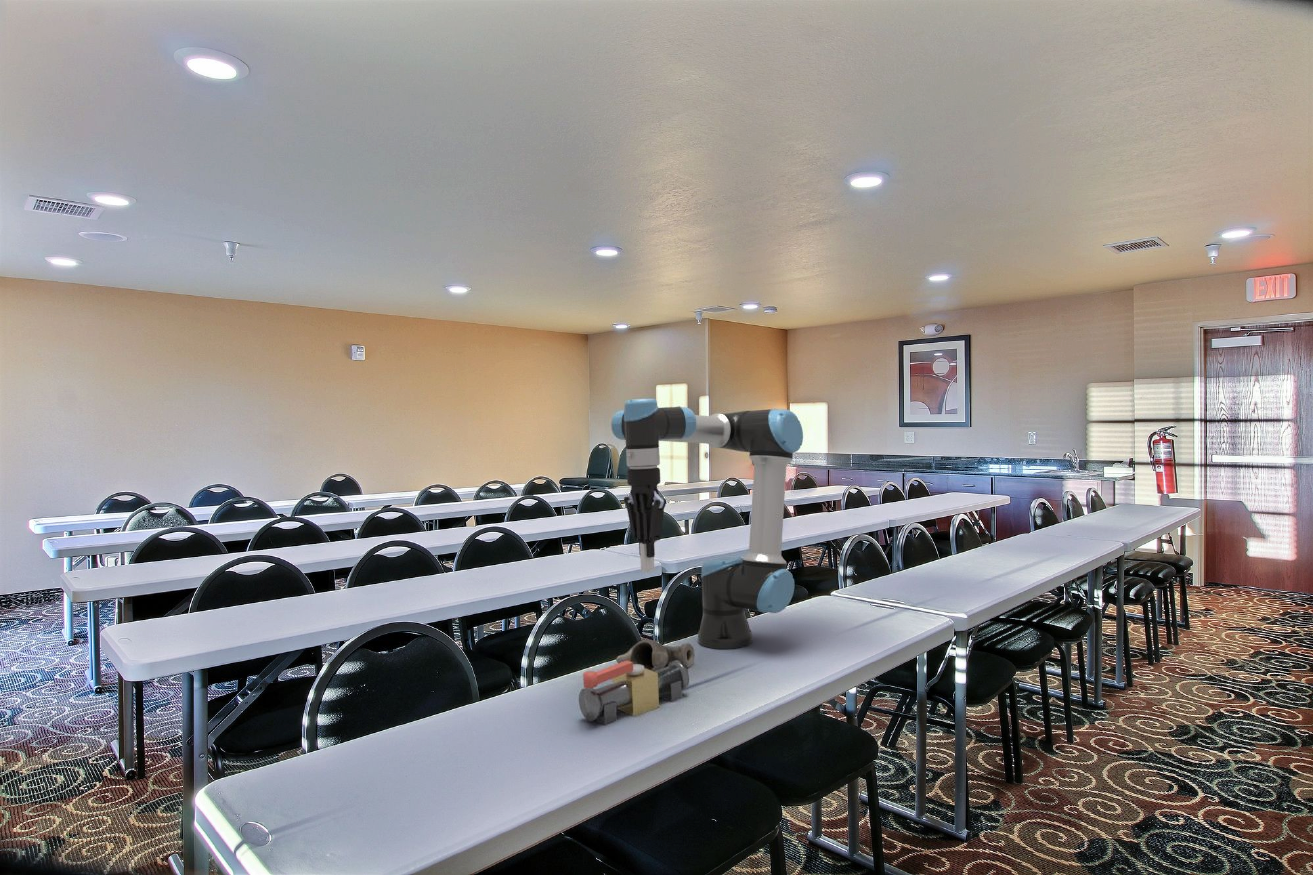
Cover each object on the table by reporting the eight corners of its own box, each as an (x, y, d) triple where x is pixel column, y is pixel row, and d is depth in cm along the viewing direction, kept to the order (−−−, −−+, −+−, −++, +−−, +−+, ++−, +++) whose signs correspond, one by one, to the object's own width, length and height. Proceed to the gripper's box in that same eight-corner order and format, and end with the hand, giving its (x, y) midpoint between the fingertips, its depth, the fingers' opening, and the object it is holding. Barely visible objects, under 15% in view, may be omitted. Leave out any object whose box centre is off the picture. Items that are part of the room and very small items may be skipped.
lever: (634, 667, 166) (634, 652, 166) (647, 671, 163) (647, 656, 163) (579, 689, 154) (578, 673, 154) (592, 693, 151) (591, 677, 151)
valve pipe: (670, 688, 174) (669, 656, 174) (690, 696, 168) (689, 663, 168) (579, 718, 158) (577, 683, 158) (597, 728, 153) (596, 692, 152)
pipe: (649, 696, 191) (619, 682, 180) (638, 665, 197) (609, 649, 186) (702, 666, 188) (676, 649, 177) (690, 635, 194) (664, 617, 183)
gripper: (613, 467, 172) (617, 570, 172) (647, 469, 161) (652, 577, 162) (638, 465, 176) (643, 565, 177) (674, 466, 166) (679, 572, 167)
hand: (647, 571), depth 169 cm, fingers closed
